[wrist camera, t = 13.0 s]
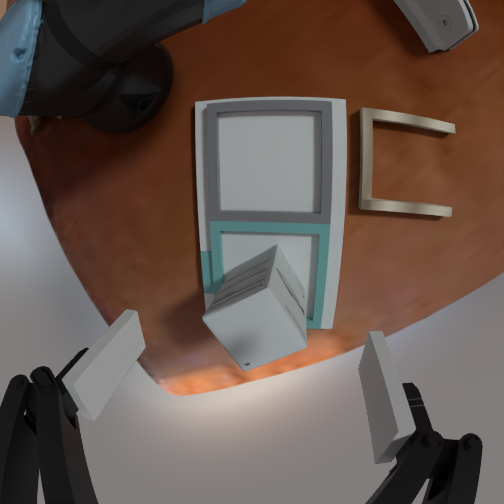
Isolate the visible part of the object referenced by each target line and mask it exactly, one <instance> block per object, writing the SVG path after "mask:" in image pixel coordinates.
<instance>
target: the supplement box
mask: <svg viewBox="0 0 504 504" xmlns="http://www.w3.org/2000/svg"><path fill="white" fill-rule="evenodd" d="M202 320H203V321H204V323H205V324H206V325H207V327H208V328H209V329H210V330H211V332H212V333H213V334H214V335H215V337H216V338H217V339H218V341H219V342H220V343H221V344H222V346H223V347H224V348H225V350H226V351H227V352H228V353H229V354H230V356H231V357H232V358H233V359H234V360H235V362H236V363H237V364H238V365H239V367H240V368H241V369H242V370H243V371H247V370H250V369H253V368H256V367H258V366H261V365H264V364H267V363H269V362H272V361H274V360H277V359H280V358H282V357H285V356H287V355H290V354H292V353H295V352H297V351H299V350H302V349H304V348H306V347H307V335H306V294H305V288H304V287H303V285H302V284H301V282H300V281H299V279H298V277H297V276H296V274H295V273H294V271H293V269H292V268H291V266H290V264H289V262H288V261H287V259H286V257H285V256H284V254H283V252H282V250H281V249H280V247H279V245H278V244H277V245H275V246H274V247H272V248H270V249H268V250H266V251H265V252H263V253H261V254H259V255H257V256H256V257H254V258H252V259H250V260H248V261H247V262H245V263H243V264H241V265H239V266H238V267H236V268H234V269H232V270H231V272H230V273H229V275H228V276H227V278H226V279H225V281H224V283H223V284H222V286H221V288H220V289H219V291H218V293H217V294H216V296H215V298H214V299H213V301H212V303H211V304H210V306H209V308H208V309H207V311H206V312H205V314H204V315H203V317H202Z"/></svg>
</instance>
